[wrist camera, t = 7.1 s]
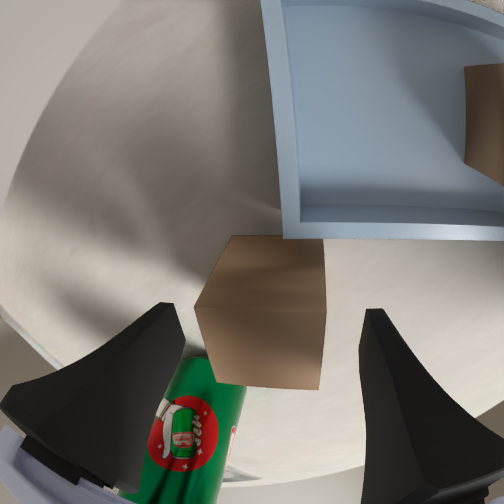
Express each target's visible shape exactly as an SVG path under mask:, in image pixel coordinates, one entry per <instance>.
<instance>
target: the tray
mask: <svg viewBox="0 0 504 504" xmlns="http://www.w3.org/2000/svg"><path fill="white" fill-rule="evenodd" d="M260 2H261V9H262V17H263V24H264V32H265V40H266V49H267V57H268V66H269V75H270V85H271V94H272V104H273V114H274V125H275V136H276V148H277V160H278V172H279V185H280V199H281V214H282V230H283V239H435V240H487V241H504V187H503V186H502V185H500V184H499V183H497V182H495V181H494V180H492V179H490V178H489V177H487V176H485V175H484V174H482V173H480V172H478V171H477V170H475V169H473V168H471V167H469V166H467V165H466V164H464V156H465V137H466V94H465V77H464V67H465V66H474V65H485V64H498V63H504V15H503V14H501V13H499V12H496V11H494V10H492V9H489V8H487V7H484V6H482V5H479V4H477V3H474V2H471V1H468V0H260Z"/></svg>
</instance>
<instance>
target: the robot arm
mask: <svg viewBox="0 0 504 504" xmlns="http://www.w3.org/2000/svg"><path fill="white" fill-rule="evenodd" d="M185 341H186V339H185V336H184V333H183V331H182V328H181V325H180V322H179V319H178V316H177V313H176V310H175V307H174V303H165V302H160V303H158V304H157V305H155V306H154V307H152V308H151V309H150V310H149V311H147V312H146V313H145V314H143V315H142V316H141V317H140V318H138V319H137V320H136V321H134V322H133V323H132V324H131V325H129V326H128V327H127V328H125V329H124V330H123V331H122V332H120V333H119V334H118V335H116V336H115V337H113V338H112V339H111V340H109V341H108V342H106V343H105V344H104V345H102V346H101V347H99V348H98V349H96V350H95V351H93V352H92V353H90V354H88V355H87V356H85V357H83V358H82V359H80V360H78V361H76V362H74V363H72V364H70V365H68V366H66V367H64V368H62V369H60V370H58V371H56V372H53V373H51V374H48V375H46V376H43V377H40V378H38V379H35V380H31V381H28V382H24V383H20V384H17V385H13V386H12V387H11V388H10V390H9V391H8V392H7V394H6V395H5V397H4V398H3V400H2V401H1V403H0V409H1V410H2V412H3V413H4V414H5V415H6V416H7V417H8V418H9V419H10V420H11V421H12V422H13V423H14V424H16V425H17V426H18V427H19V428H20V429H21V430H22V431H23V432H25V434H27V435H26V437H25V439H24V438H23V437H22V436H20V435H19V434H18V433H17V432H15V431H14V430H13V429H11V428H10V427H9V426H8V425H5V426H4V428H3V429H2V431H1V432H0V480H1V482H2V483H3V484H4V485H5V486H6V488H7V489H8V490H9V491H10V493H11V494H12V495H13V496H14V497H15V499H16V500H17V501H18V502H19V503H20V504H136V503H134V502H131V501H129V500H127V499H124V498H122V497H120V496H117V495H115V494H113V493H111V492H109V491H107V490H104V489H103V487H104V486H106V487H109V488H111V489H113V488H114V487H116V488H118V489H120V490H123V491H125V492H127V493H130V494H135V493H137V492H139V489H140V480H141V473H142V467H143V462H144V457H145V452H146V447H147V444H148V440H149V436H150V432H151V429H152V425H153V422H154V419H155V416H156V413H157V410H158V408H159V405H160V403H161V401H162V398H163V396H164V394H165V392H166V390H167V388H168V385H169V383H170V381H171V379H172V377H173V375H174V372H175V370H176V368H177V366H178V363H179V361H180V358H181V355H182V352H183V348H184V344H185ZM359 373H360V381H361V388H362V396H363V404H364V412H365V421H366V457H365V472H364V482H363V491H362V498H361V504H485V502H484V498H485V497H487V496H488V494H489V492H488V486H490V485H491V484H493V483H494V482H496V481H498V480H499V479H501V478H502V477H504V439H503V438H502V437H500V436H499V435H497V434H496V433H494V432H493V431H491V430H489V429H488V428H487V427H485V426H484V425H483V424H481V423H480V422H479V421H477V420H476V419H475V418H473V417H472V416H471V415H470V414H469V413H468V412H466V411H465V410H464V409H463V408H462V407H461V406H460V405H459V404H458V403H457V402H455V401H454V400H453V399H452V398H451V397H450V396H449V395H448V394H447V393H446V392H445V391H444V390H443V389H442V388H441V386H440V385H439V384H438V383H437V382H436V381H435V380H434V379H433V377H432V376H431V375H430V374H429V373H428V372H427V370H426V369H425V368H424V366H423V365H422V364H421V363H420V361H419V360H418V359H417V357H416V356H415V355H414V353H413V352H412V351H411V349H410V348H409V346H408V345H407V344H406V342H405V341H404V339H403V338H402V337H401V335H400V334H399V332H398V331H397V329H396V328H395V326H394V325H393V323H392V322H391V320H390V318H389V317H388V315H387V314H386V312H385V311H384V310H383V309H382V308H381V309H366V312H365V318H364V323H363V329H362V334H361V339H360V343H359ZM486 504H504V495H503V496H501V497H499V498H497V499H494V500H492V501H490V502H488V503H486Z"/></svg>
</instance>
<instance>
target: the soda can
mask: <svg viewBox="0 0 504 504" xmlns="http://www.w3.org/2000/svg"><path fill="white" fill-rule="evenodd" d="M245 394H246V386H243V385H234V384H226V383H218V382H216V379H215V376H214V373H213V370H212V367H211V363H210V360H209V357H208V356H193V357H190V358H186V359H184V360H182V361H180V362H179V363H178V366H177V368H176V370H175V372H174V375H173V377H172V379H171V381H170V383H169V385H168V388H167V390H166V392H165V394H164V396H163V398H162V401H161V403H160V405H159V408H158V410H157V413H156V416H155V419H154V422H153V425H152V429H151V432H150V436H149V440H148V444H147V447H146V452H145V457H144V462H143V467H142V473H141V480H140V489H139V492H137V493H135V494H130V493H127V492H125V491H123V490H120V489H119V491H118V494H117V496H120V497H122V498H124V499H127V500H129V501H131V502H134V503H136V504H216V501H217V498H218V494H219V491H220V487H221V484H222V480H223V477H224V473H225V470H226V466H227V462H228V459H229V455H230V451H231V448H232V444H233V440H234V436H235V433H236V429H237V425H238V421H239V417H240V414H241V410H242V406H243V402H244V398H245Z"/></svg>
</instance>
